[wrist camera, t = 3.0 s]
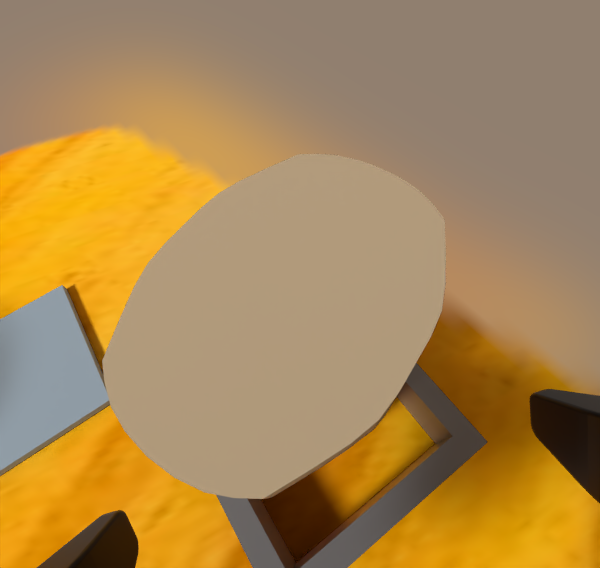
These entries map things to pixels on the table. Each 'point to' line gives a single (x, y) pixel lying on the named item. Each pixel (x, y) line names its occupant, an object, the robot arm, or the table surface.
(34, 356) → the mat
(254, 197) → the handle
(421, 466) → the grey square frame
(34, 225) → the table surface
